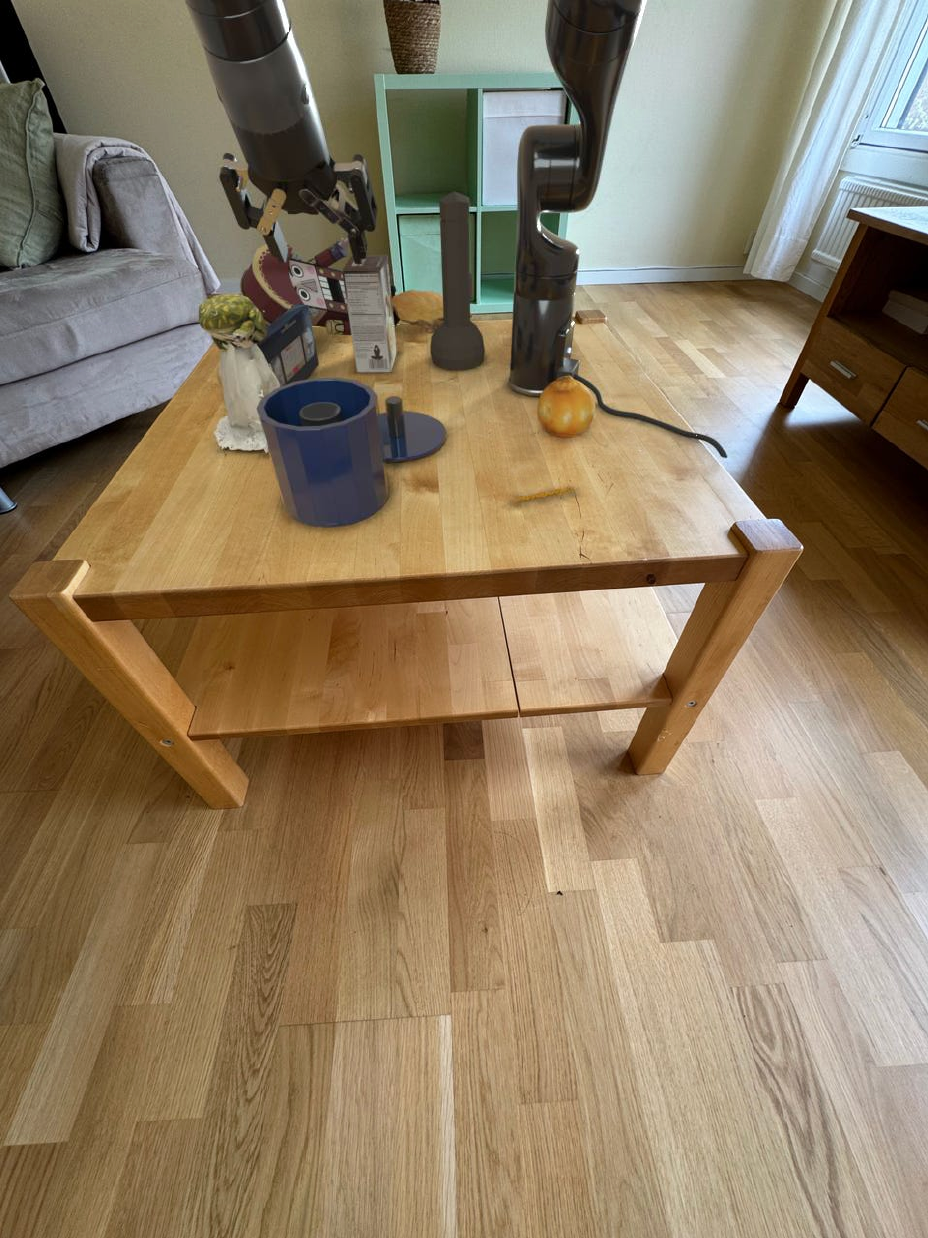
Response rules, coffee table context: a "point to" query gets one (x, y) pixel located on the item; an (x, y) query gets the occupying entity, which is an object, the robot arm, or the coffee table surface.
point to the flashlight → (456, 291)
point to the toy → (301, 287)
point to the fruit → (565, 407)
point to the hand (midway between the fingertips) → (321, 257)
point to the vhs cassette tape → (291, 346)
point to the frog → (239, 368)
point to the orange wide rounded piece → (420, 308)
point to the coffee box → (370, 313)
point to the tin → (326, 452)
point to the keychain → (544, 494)
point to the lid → (408, 432)
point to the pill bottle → (320, 414)
